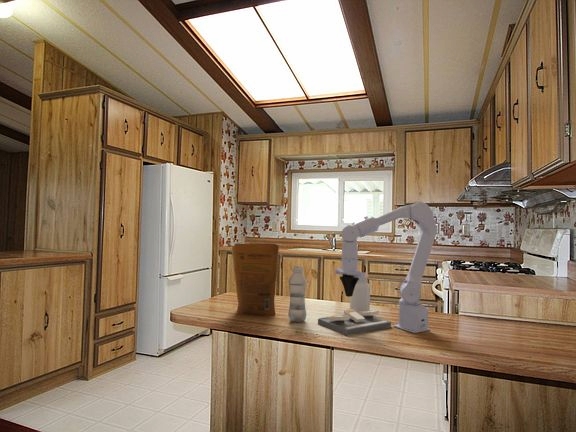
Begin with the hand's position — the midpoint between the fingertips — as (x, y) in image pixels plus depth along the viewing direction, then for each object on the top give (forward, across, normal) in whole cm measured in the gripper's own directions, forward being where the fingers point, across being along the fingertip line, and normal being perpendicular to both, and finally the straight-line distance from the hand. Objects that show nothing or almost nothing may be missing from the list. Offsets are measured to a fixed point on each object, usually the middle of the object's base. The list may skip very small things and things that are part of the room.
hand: (349, 296), depth 135 cm
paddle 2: (+6, +3, +7) cm, 10 cm away
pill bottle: (+10, -10, +15) cm, 21 cm away
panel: (+10, +3, 0) cm, 10 cm away
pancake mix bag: (+10, -29, -23) cm, 39 cm away
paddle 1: (+6, +3, -7) cm, 10 cm away
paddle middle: (+6, +3, 0) cm, 7 cm away
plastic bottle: (+10, -11, -15) cm, 21 cm away
